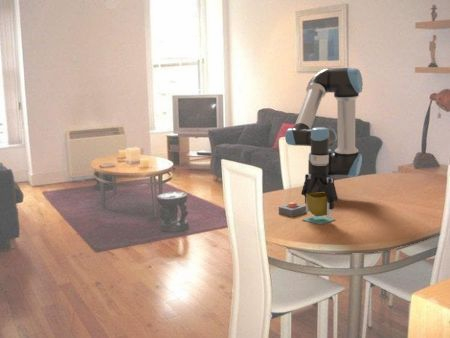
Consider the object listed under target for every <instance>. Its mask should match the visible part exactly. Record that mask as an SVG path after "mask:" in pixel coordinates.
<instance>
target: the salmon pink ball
mask: <svg viewBox="0 0 450 338" xmlns="http://www.w3.org/2000/svg"><path fill="white" fill-rule="evenodd" d="M287 204H288V207H290V208H296V207H297V204H298V203H297V202H288V203H287Z"/></svg>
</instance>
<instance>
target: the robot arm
mask: <svg viewBox="0 0 450 338" xmlns="http://www.w3.org/2000/svg"><path fill="white" fill-rule="evenodd" d="M363 84H364V83H363V77H362V73H361V71H360V69H358V68H356V67H337V68H330V67H329V68H324V69H322V70H320V71H318V72H317V73H315V74H314V75H313V76H312V78H311V79H310V80H309V82H308V83H307V86H306V89H305V90H306V95H305V98H304V99H303V103H302V105H301V108H300V111H299V113H298V116H297V117H296V121H295V124H294V126H293V127H291V128H287V130H286V131H285V137H284V138H285V142H286V144H287V145H289V146H300V147H301V146H305V147H310V151H309V154H308V160H307V161H308V164H307V165H308V172H307V174H305V175H304V183H303V186H302V190H301V195H302V196H304V204H305V206H306V213H308V212H309V213H310V210H309V208H308V205H307V198H306V194H309V193H318V192H325V194H326V197H327V199H328V202H327V215H326V217H328V218H331V217H333V210H334V207H335V206H334V204H335V202H337V201H338V200H339V198H338V193H337V190H336V186H335V177H334V176H336V177H347V178H357V177H358V176H359V174H360V172H361V168H362V162H363V155H362V154H361V153H359V149H358V148H357V147H356V100H357V98H359V94H360V93H362V92H363ZM327 93H331V94H333V95H334V98H335V99H336V100H337V102H336V103H337V105H336V106H337V132H336V131H335V130H333V129H332V128H327V127H323V126H322V127H313V128H312V126H313V124H314V120H315V117H316V115H317V113H318V109H319V107H320V105H321V102H322V99H323V98H324V97H325V96H326V94H327ZM336 142H337V148H335V149H334V152H333V151H332V149H330V147H332V146H333V145H334V144H335V143H336ZM332 176H333V177H332Z"/></svg>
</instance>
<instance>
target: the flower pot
mask: <svg viewBox="0 0 450 338" xmlns="http://www.w3.org/2000/svg"><path fill="white" fill-rule="evenodd" d="M306 198H307V205H308V208H309V210H310V211H309V213H311V215H313V216H317V217H318V216H324V217H326V216H327V202H328V199H327V197H326V194H325V192H318V193H309V194H306Z"/></svg>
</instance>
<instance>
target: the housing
mask: <svg viewBox="0 0 450 338" xmlns="http://www.w3.org/2000/svg"><path fill="white" fill-rule="evenodd" d="M305 213H307V212H306V205H304V204H300V203H297V207H296V208H290V207H288V203H287V204H284V205H280V206H278V214H280V215H285V216H287V217H297V216H298V215H301V214H302V215H303V214H305Z"/></svg>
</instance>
